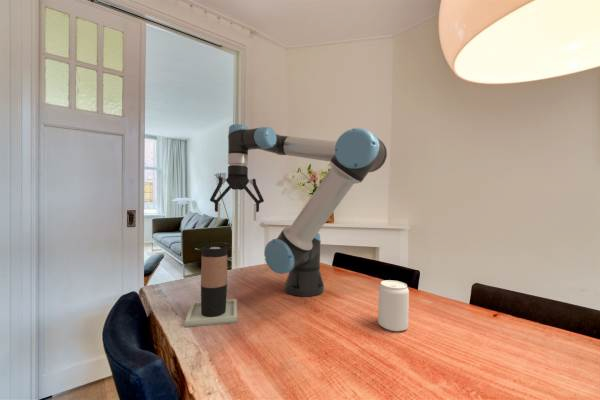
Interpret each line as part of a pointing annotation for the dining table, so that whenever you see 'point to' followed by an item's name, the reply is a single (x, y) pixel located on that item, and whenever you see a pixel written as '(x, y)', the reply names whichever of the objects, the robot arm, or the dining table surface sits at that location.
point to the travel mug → (213, 280)
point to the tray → (198, 319)
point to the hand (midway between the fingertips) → (237, 220)
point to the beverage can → (393, 305)
